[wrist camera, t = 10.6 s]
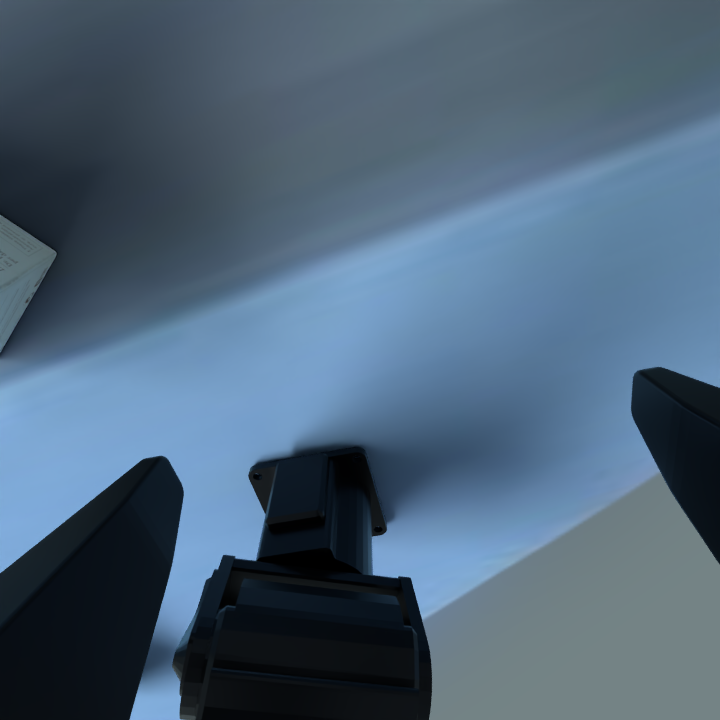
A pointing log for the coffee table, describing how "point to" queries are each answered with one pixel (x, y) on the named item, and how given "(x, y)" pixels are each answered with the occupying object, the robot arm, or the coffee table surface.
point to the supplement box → (19, 273)
